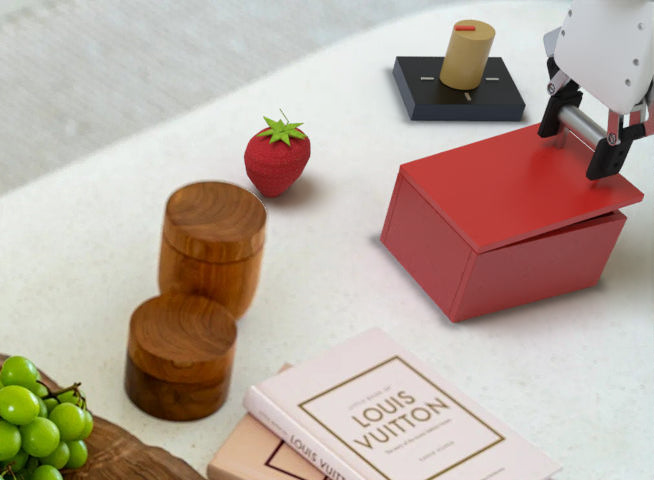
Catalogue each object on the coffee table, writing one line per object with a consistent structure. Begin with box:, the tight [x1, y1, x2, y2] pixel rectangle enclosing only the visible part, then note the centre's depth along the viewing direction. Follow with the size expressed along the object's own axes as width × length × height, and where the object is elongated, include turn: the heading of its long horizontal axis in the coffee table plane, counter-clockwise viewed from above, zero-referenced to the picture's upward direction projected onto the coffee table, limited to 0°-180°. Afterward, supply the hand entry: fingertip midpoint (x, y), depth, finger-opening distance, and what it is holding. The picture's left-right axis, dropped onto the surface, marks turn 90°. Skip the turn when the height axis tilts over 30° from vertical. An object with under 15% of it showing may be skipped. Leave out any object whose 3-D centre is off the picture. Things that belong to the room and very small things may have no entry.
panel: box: [391, 55, 527, 122], centre depth 128 cm, size 12×10×3 cm
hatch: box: [398, 103, 645, 254], centre depth 101 cm, size 16×13×5 cm
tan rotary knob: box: [440, 19, 497, 90], centre depth 125 cm, size 4×4×6 cm
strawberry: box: [243, 108, 312, 199], centre depth 113 cm, size 6×8×10 cm
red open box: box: [379, 171, 628, 324], centre depth 106 cm, size 16×13×9 cm
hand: (577, 152), depth 102 cm, fingers closed on hatch, 6 cm apart
